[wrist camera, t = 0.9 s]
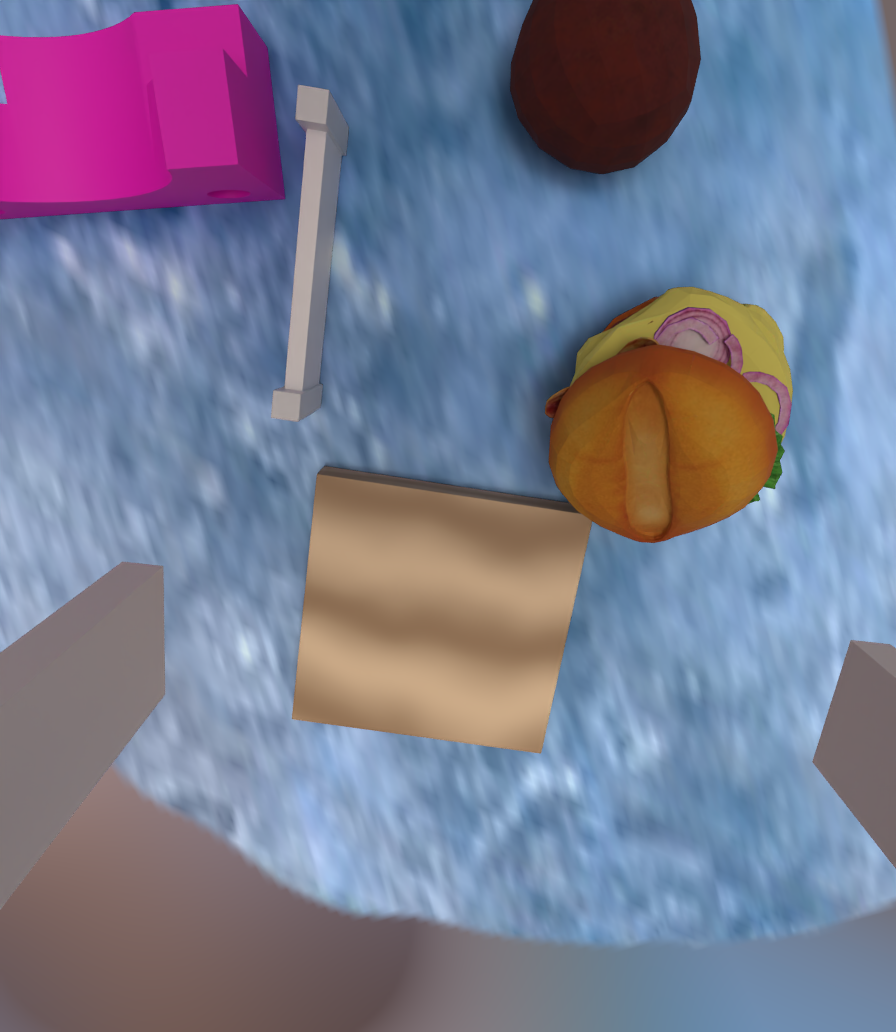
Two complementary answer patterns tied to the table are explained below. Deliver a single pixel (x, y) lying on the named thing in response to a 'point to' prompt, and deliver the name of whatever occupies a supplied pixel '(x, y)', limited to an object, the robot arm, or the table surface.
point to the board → (436, 609)
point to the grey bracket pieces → (312, 252)
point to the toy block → (139, 116)
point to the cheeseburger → (672, 416)
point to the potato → (604, 78)
